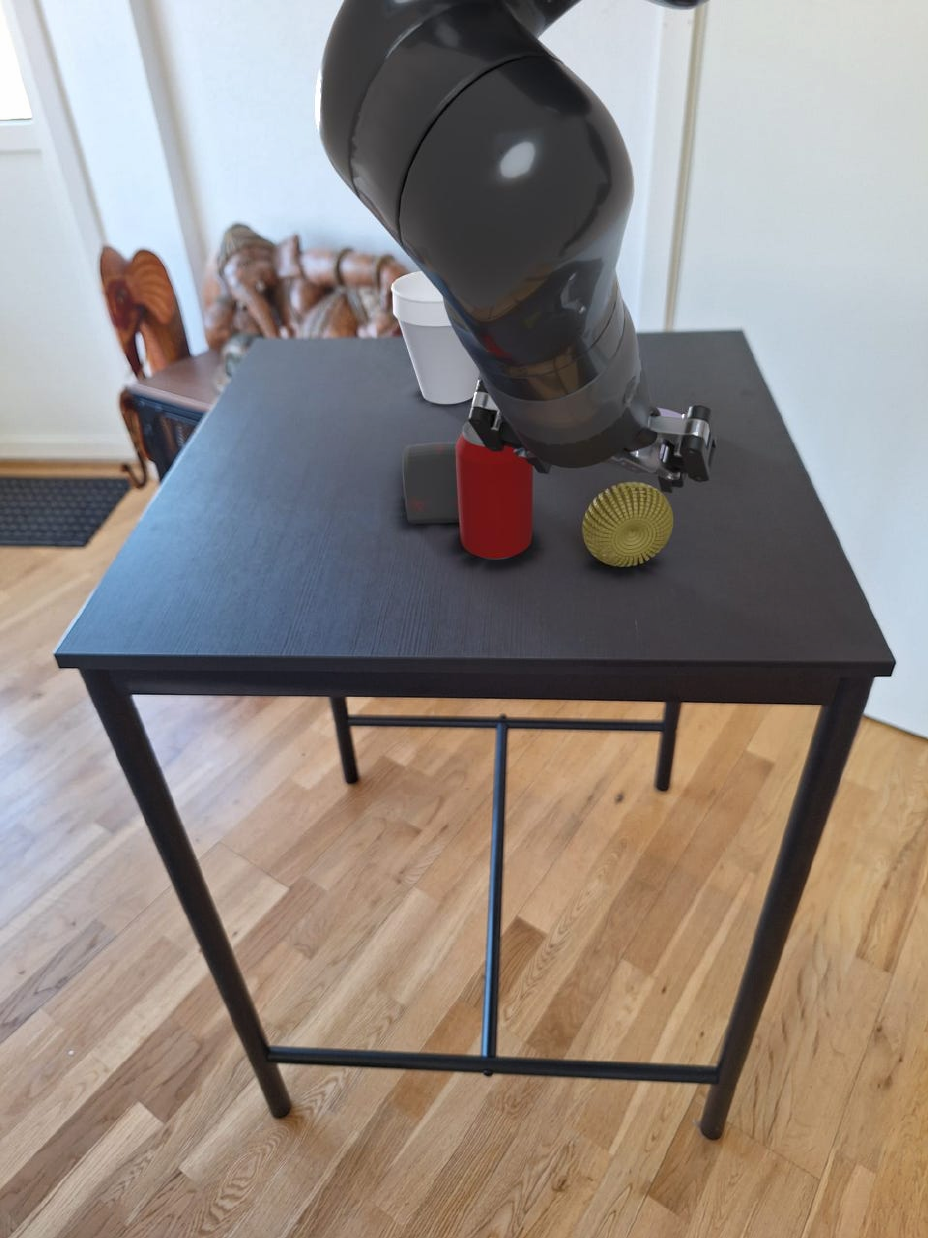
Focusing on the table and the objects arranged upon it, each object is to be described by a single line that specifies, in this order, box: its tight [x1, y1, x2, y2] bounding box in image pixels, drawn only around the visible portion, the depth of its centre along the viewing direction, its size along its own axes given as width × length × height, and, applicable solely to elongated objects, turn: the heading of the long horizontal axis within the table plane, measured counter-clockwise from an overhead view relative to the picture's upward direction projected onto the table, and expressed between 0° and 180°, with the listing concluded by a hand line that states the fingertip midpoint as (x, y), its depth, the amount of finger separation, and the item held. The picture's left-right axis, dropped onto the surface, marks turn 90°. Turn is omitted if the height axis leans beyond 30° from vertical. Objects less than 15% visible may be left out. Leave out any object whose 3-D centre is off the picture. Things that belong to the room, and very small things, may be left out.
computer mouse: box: [402, 441, 460, 525], centre depth 87 cm, size 8×14×4 cm, turn 179°
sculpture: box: [581, 481, 674, 568], centre depth 74 cm, size 8×4×8 cm, turn 97°
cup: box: [390, 270, 480, 405], centre depth 103 cm, size 12×12×14 cm
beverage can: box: [455, 420, 534, 561], centre depth 76 cm, size 7×7×12 cm
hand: (607, 468), depth 57 cm, fingers open, 8 cm apart
